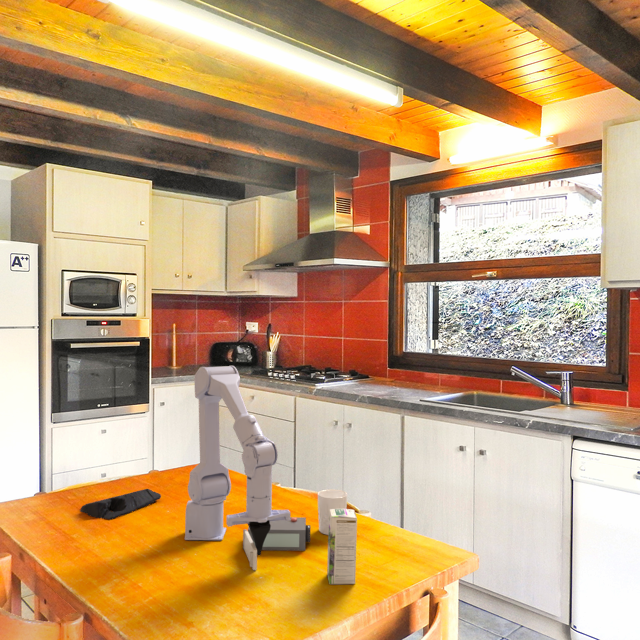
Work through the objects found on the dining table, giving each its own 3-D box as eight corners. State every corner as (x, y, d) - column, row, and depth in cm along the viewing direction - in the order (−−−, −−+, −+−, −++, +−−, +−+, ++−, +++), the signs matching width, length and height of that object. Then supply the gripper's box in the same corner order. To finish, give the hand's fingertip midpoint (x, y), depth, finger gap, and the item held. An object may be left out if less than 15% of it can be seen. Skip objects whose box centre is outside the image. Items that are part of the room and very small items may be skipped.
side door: (241, 548, 145) (241, 529, 145) (246, 548, 146) (247, 529, 146) (250, 570, 133) (250, 549, 133) (256, 569, 133) (257, 549, 133)
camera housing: (247, 550, 145) (247, 527, 145) (251, 536, 154) (251, 514, 154) (310, 550, 145) (310, 527, 145) (310, 536, 154) (310, 515, 154)
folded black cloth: (169, 503, 181) (169, 488, 181) (106, 523, 163) (106, 506, 163) (136, 494, 190) (136, 479, 190) (73, 512, 172) (73, 495, 172)
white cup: (344, 537, 154) (344, 499, 154) (314, 535, 156) (314, 496, 156) (348, 527, 162) (349, 490, 162) (320, 524, 164) (320, 488, 163)
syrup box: (326, 573, 133) (327, 508, 132) (353, 573, 133) (354, 508, 133) (328, 585, 127) (330, 517, 127) (356, 584, 127) (357, 516, 127)
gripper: (230, 502, 131) (229, 564, 131) (294, 497, 135) (293, 557, 135) (225, 493, 137) (224, 552, 137) (286, 488, 142) (285, 545, 142)
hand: (258, 553), depth 137 cm, fingers closed
